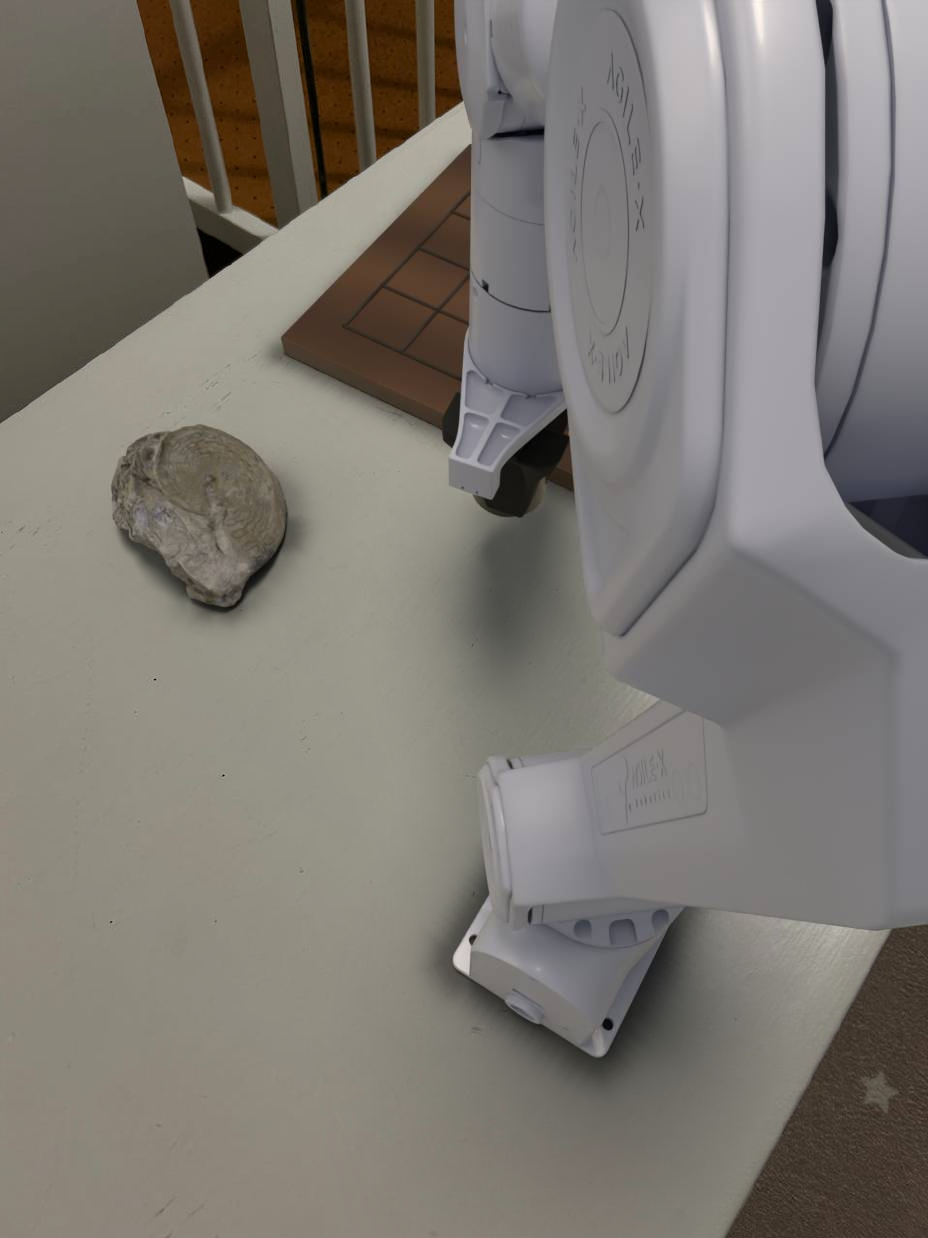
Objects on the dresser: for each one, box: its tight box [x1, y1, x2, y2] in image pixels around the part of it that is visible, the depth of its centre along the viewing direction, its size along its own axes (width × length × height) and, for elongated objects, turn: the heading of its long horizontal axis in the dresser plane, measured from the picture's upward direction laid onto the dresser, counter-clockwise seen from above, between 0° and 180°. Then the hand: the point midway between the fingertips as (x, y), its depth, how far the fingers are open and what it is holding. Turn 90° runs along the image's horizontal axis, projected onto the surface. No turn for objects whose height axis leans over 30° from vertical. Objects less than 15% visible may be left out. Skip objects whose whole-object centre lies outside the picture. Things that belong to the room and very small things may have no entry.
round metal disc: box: [472, 476, 548, 518], centre depth 51 cm, size 4×4×3 cm
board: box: [280, 143, 574, 492], centre depth 66 cm, size 24×24×2 cm
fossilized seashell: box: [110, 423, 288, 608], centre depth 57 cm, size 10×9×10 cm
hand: (521, 475), depth 50 cm, fingers closed on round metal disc, 4 cm apart
